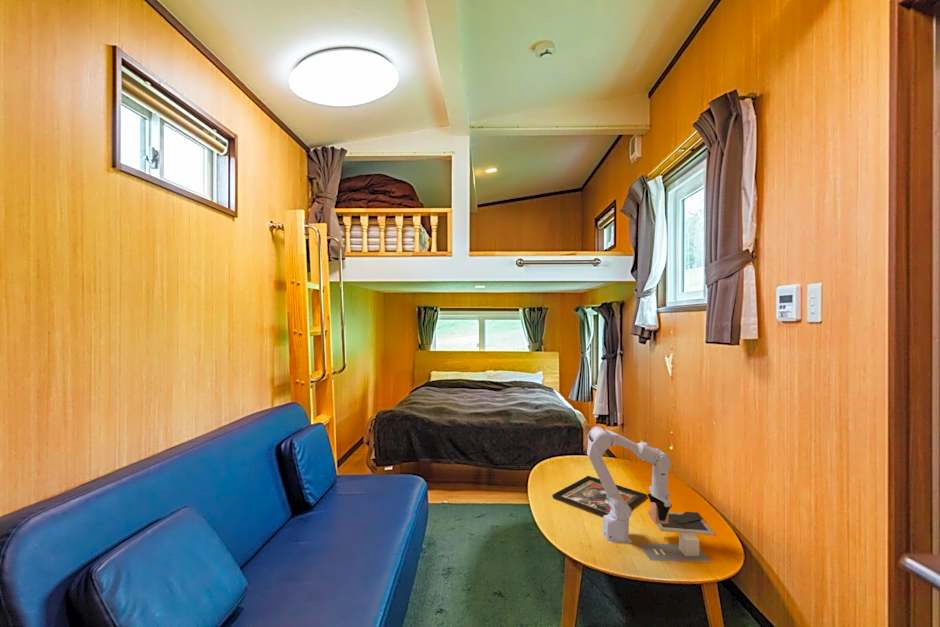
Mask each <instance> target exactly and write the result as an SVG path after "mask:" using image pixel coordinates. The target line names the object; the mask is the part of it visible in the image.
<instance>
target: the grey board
mask: <svg viewBox="0 0 940 627" xmlns="http://www.w3.org/2000/svg"><path fill="white" fill-rule="evenodd" d="M638 545H639V547H641V549H642V550H643V552H644V553H645V555H646V556H647V557H648V558H649V561H660V562H663V561H664V562H666V561H667V562H711V563H712V560H711V559H710V558H709V557H708V555H707V554H706V553H705V552H704V551H703V550H702V549H701V547H699V556H685V555H684V554H683V553H682V552H681V550H680V549H679V543H642V542H641V543H640V542H639V543H638Z"/></svg>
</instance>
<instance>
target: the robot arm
mask: <svg viewBox="0 0 940 627" xmlns="http://www.w3.org/2000/svg"><path fill="white" fill-rule="evenodd" d="M615 446H621V447H623V448H625V449H628V450H630V451H632V452H634V455H635V456H636V457H637V458H639V459H641V460H644V461H645V462H648V463H650V464H652V466H651V467H652V468H651V469H652V472H651V473H652V476H651V485H649V486H648V487H649V488H648V490H649V492H650V493H647V497H648V498H649V502H655V503H656V506H657V509H658V517H659V520H660V521H665V519H666V516H667V513H668V511H669V512H670V509H671V508H672V507H673V505H672V503H671V501H670V497H671V493H670V492H668V490H669V489H668V487H669V469H670V467H671V466H672V461H671V458H670V457H669V455H668V454H666V453H665V452H663V451H662V450H661V449H659V448H655V447H652V446H650V445H649V444H648V443H647V442H638V443H636V442H634V441H632V440H631V439H629V438H627V437H624V436H623V435H620V434H618V433H616V432H614V431H612V430H609V429H607V428H603V427H601V426H597V425H596V426H593V427H592V428H591V429H590V430H589V432H588V434H587V449H586V450H587V451H586V454H587V457H588V459H589V461H590V462H591V465H592V467H593V469H594V471H595V473H596V475H597V477H598V479H600V481H601V483H602V485H603V487H604V490H605V492H606V494H607V497H608V504H609V506H610V508H611V510H610V514H608V515H604V516H603V518H602V530H601V533H602V535H603V537H604V538H605V539H606V541H607V543H626V544H627V543H629V544H632V543H633V541H632V540H631V538H630V537H629V536H630V535H629V529H630V528H629V526H630V518H631V516H632V512H633V511H632V510H633V509H631V508H630V506H628V505H627V503H626V502H625V501H624V499H623V498H622V496H621V494H620V493H619V491H618V489H617V487H616V485H617V484H616V482H615V481H614V478H613V477H612V475H611V473H610V471H609V469H608V467H607V465H606V463H605V461H604V459H603V455H604V453H605V452H606V451H607V450H608V449H610V447H613V448H614V447H615Z"/></svg>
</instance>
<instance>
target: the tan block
mask: <svg viewBox="0 0 940 627" xmlns="http://www.w3.org/2000/svg"><path fill="white" fill-rule="evenodd" d="M700 541H701V540H700V538H698V537H697V536H696V535H695V533H684V532H678V544H679V549H680V550H681V552H682V553H683V554H684V555H685V556H699V548H700V543H701V542H700Z"/></svg>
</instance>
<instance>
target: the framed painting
mask: <svg viewBox="0 0 940 627" xmlns="http://www.w3.org/2000/svg"><path fill="white" fill-rule="evenodd" d="M615 485H616V487H617V489H618V491H619V493H620V494H621V496H622V498H623V499H624V501H625V502H626V503H627V505H628V506H630V508H631V510H633V509H634V508H635V507H637V506H638V505H639V504H641V502H643V501H644V500H646V499H647V497H648V494H647V493H644V492H640V491H638V490H635V489H630V488H628V487H624V486H622V485H618V484H615ZM551 497H552V499H554V500H556V501H559V502H561V503H563V504H566V505H568V506H570V507H573V508H577V509H579V510H581V511H583V512H584V511H585V512H586V513H590V514H592V515H595V516H597V517H600V518H602V519H603V516H604V515H608V514H610V510H611V508H610V506H609V504H608V497H607V494H606V492H605V490H604V487H603V485H602V483H601V481H600V479H599V478H597V477H594V476H590V475H587V476H585V477H583V478H581V479H580V480H577V481H576V482H574V483H572V484H569V485H568V486H566V487H564V488H562V489H560V490H558V491H557V492H555V493H552V496H551Z"/></svg>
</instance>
